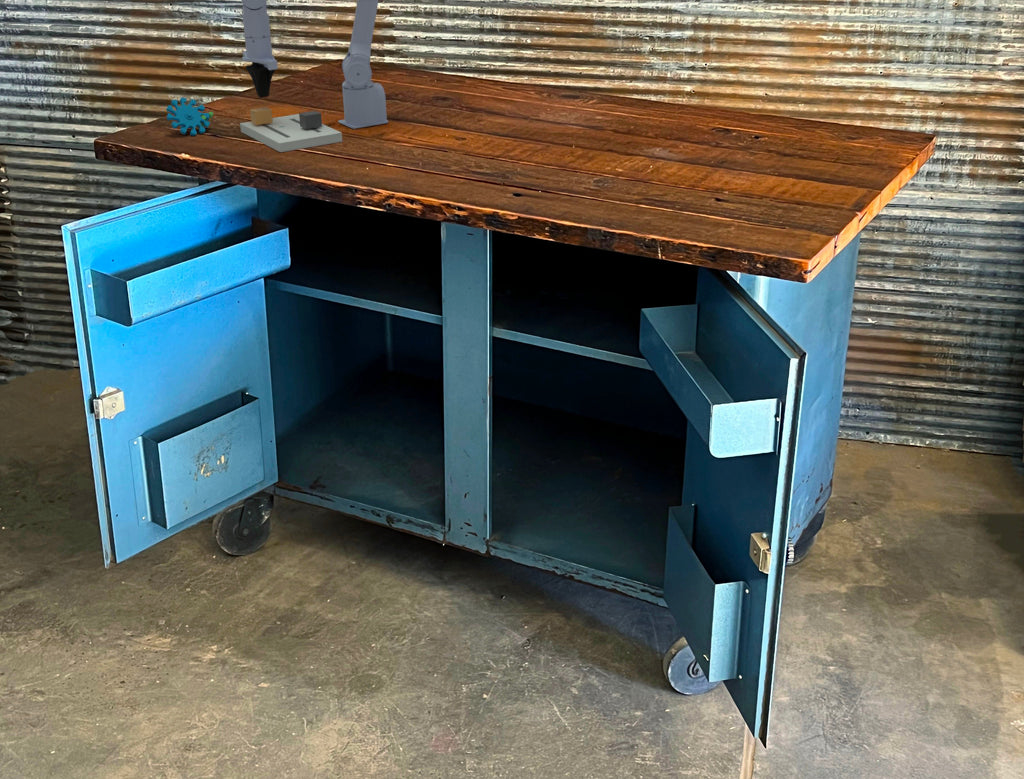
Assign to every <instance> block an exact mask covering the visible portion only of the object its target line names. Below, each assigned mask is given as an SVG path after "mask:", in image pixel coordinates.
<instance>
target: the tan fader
mask: <svg viewBox="0 0 1024 779" xmlns="http://www.w3.org/2000/svg"><path fill="white" fill-rule="evenodd" d="M249 113H250V114H249V116H250V122H251V123H253V124H255V125H261V124H267V123H273V119H272V118H273V111H272V109H271V108H270V107H267V106H264V107H258V108H251V109H249Z"/></svg>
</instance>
